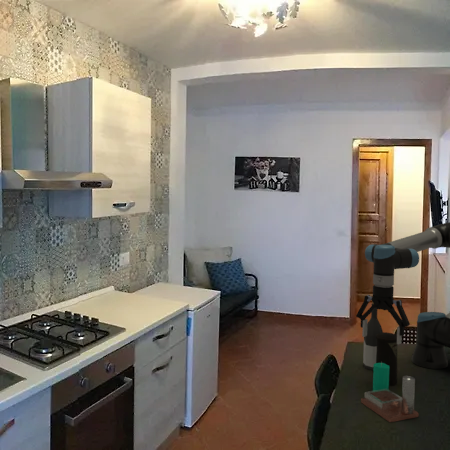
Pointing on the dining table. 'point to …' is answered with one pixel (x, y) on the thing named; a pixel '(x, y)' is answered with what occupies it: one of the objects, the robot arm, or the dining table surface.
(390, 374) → the container
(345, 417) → the dining table surface
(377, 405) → the brown stand with post
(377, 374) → the candle
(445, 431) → the dining table surface
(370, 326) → the wine bottle
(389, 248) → the robot arm
